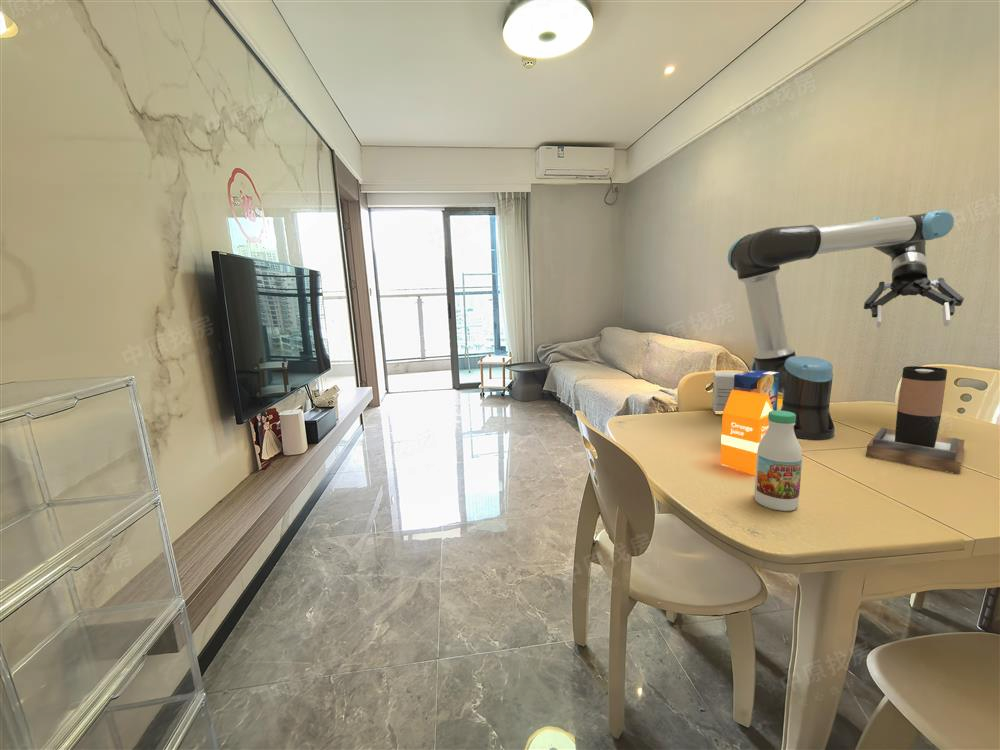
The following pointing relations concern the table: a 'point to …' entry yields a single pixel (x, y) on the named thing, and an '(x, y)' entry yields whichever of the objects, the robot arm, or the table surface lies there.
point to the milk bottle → (778, 464)
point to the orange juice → (744, 429)
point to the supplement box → (722, 389)
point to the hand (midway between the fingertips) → (911, 324)
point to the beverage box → (759, 384)
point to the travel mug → (920, 405)
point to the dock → (917, 451)
